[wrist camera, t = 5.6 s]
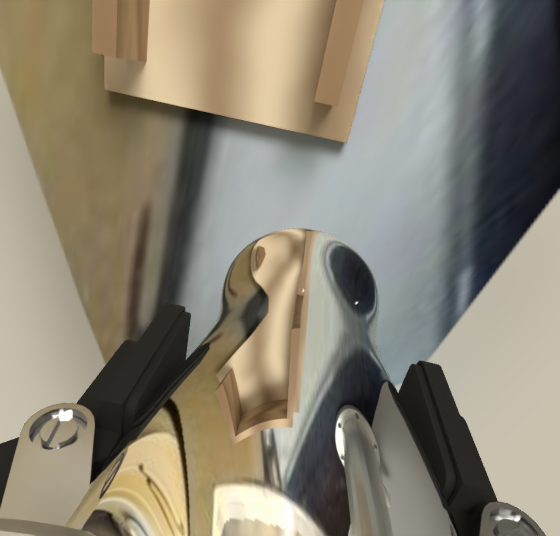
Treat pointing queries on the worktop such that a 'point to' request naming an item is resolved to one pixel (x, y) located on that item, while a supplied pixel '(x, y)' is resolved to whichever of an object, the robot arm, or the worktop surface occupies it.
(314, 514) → the beer glass
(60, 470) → the robot arm
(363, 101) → the worktop surface
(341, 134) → the glass rest
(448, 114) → the worktop surface
